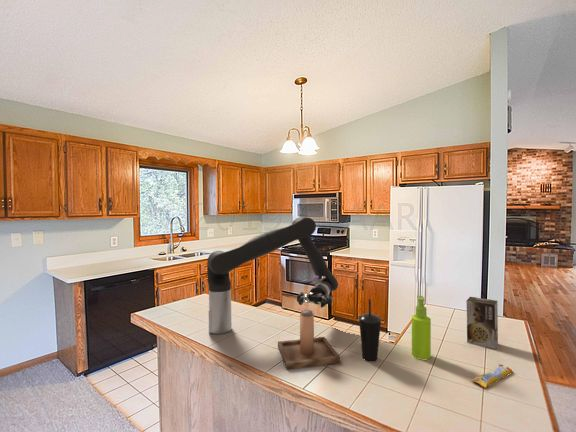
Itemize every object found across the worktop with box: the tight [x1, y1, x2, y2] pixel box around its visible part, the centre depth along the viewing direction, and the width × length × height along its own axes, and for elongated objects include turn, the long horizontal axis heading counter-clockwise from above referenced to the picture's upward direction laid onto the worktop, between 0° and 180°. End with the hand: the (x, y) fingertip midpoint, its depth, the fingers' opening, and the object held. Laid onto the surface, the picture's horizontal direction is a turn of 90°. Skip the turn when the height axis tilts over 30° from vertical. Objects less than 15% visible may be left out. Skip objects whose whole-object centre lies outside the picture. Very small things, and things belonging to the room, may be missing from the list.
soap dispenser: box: [411, 295, 432, 360], centre depth 100 cm, size 6×7×20 cm
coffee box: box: [465, 296, 499, 350], centre depth 109 cm, size 9×6×16 cm
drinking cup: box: [357, 298, 382, 362], centre depth 99 cm, size 8×8×20 cm
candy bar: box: [469, 363, 514, 389], centre depth 87 cm, size 17×4×2 cm, turn 119°
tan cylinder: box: [299, 309, 315, 355], centre depth 102 cm, size 5×5×14 cm
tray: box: [277, 336, 341, 371], centre depth 102 cm, size 18×16×2 cm
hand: (310, 303), depth 113 cm, fingers open, 8 cm apart
